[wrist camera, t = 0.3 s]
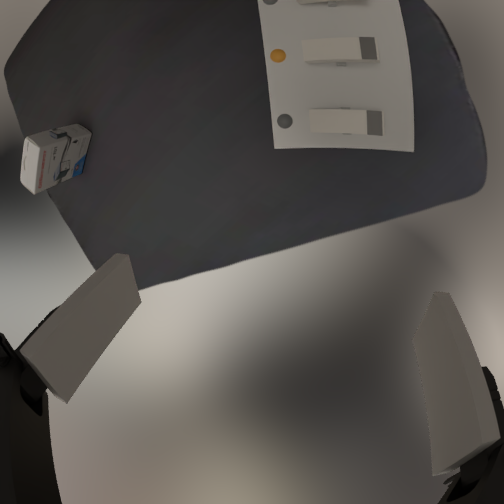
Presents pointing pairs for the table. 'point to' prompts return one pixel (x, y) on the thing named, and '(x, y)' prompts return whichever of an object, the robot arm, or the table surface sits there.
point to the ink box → (53, 156)
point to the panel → (337, 72)
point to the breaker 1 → (314, 1)
